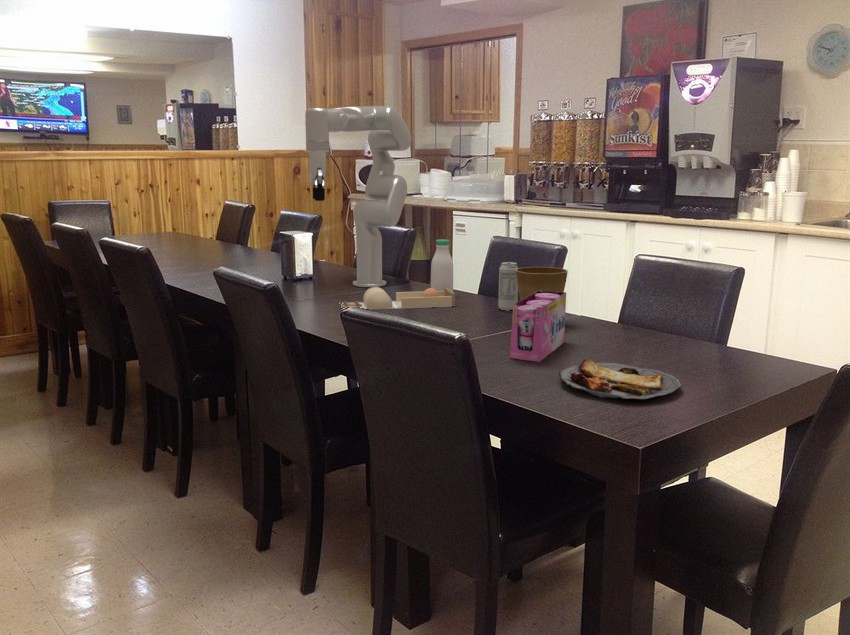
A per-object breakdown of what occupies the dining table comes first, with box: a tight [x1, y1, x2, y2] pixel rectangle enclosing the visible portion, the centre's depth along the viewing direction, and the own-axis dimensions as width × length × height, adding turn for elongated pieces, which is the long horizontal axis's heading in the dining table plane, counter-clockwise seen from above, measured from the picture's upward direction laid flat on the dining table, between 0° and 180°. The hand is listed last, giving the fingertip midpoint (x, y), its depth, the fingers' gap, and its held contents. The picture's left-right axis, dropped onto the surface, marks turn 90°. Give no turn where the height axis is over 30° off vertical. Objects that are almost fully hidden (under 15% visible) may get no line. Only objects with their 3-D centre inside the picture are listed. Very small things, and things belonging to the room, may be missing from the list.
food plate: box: [558, 358, 682, 400], centre depth 165 cm, size 25×23×4 cm
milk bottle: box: [430, 238, 454, 292], centre depth 263 cm, size 8×8×20 cm
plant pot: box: [516, 266, 568, 301], centre depth 224 cm, size 15×15×16 cm
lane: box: [338, 287, 456, 311], centre depth 251 cm, size 11×36×8 cm, turn 102°
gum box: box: [509, 290, 567, 363], centre depth 194 cm, size 24×8×14 cm, turn 155°
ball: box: [423, 287, 438, 297], centre depth 253 cm, size 5×5×5 cm
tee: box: [340, 300, 362, 308], centre depth 248 cm, size 7×7×1 cm
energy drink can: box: [497, 261, 519, 312], centre depth 244 cm, size 6×6×15 cm
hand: (318, 199), depth 255 cm, fingers open, 9 cm apart
